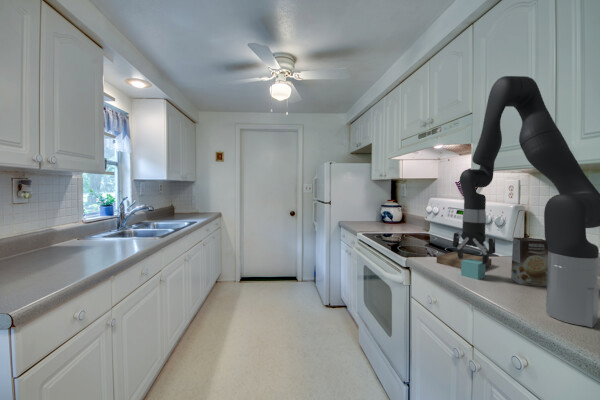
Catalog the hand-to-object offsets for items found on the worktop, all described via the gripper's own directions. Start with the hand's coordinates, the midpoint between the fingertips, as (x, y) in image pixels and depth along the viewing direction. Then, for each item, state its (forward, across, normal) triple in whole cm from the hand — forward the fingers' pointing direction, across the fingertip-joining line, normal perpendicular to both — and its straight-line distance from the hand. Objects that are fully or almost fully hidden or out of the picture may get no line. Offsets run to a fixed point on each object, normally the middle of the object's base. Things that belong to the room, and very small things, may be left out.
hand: (472, 261), depth 103 cm
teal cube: (+6, 0, 0) cm, 6 cm away
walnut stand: (+6, -10, +14) cm, 18 cm away
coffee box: (+6, +16, +9) cm, 19 cm away
